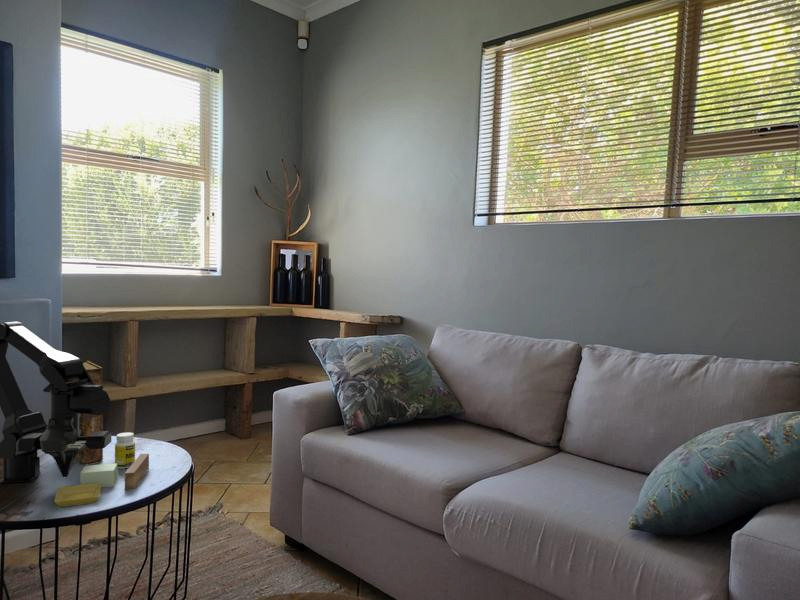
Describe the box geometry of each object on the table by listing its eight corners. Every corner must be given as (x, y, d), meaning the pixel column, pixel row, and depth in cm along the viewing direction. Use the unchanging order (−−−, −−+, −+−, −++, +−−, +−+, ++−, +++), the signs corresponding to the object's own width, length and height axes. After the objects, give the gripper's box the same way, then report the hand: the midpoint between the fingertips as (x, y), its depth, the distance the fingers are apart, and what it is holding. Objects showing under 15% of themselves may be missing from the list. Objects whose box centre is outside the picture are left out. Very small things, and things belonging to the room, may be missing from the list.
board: (124, 490, 132) (124, 473, 131) (140, 469, 145) (140, 453, 145) (134, 489, 132) (133, 472, 132) (148, 468, 146) (148, 453, 145)
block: (80, 489, 132) (80, 473, 131) (85, 482, 136) (85, 465, 136) (113, 486, 134) (113, 470, 134) (117, 479, 139) (117, 463, 138)
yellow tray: (101, 490, 132) (101, 482, 132) (99, 505, 124) (99, 495, 124) (57, 496, 128) (57, 487, 128) (53, 511, 120) (53, 501, 120)
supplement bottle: (126, 470, 145) (126, 437, 144) (110, 468, 145) (110, 436, 145) (139, 464, 149) (139, 432, 149) (123, 462, 150) (123, 431, 150)
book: (104, 461, 150) (103, 368, 149) (81, 465, 147) (80, 370, 146) (87, 446, 163) (87, 360, 161) (66, 450, 159) (65, 362, 158)
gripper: (3, 421, 123) (4, 491, 124) (96, 419, 127) (96, 487, 127) (27, 409, 134) (27, 473, 135) (112, 407, 138) (112, 470, 138)
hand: (65, 476), depth 134 cm, fingers closed
